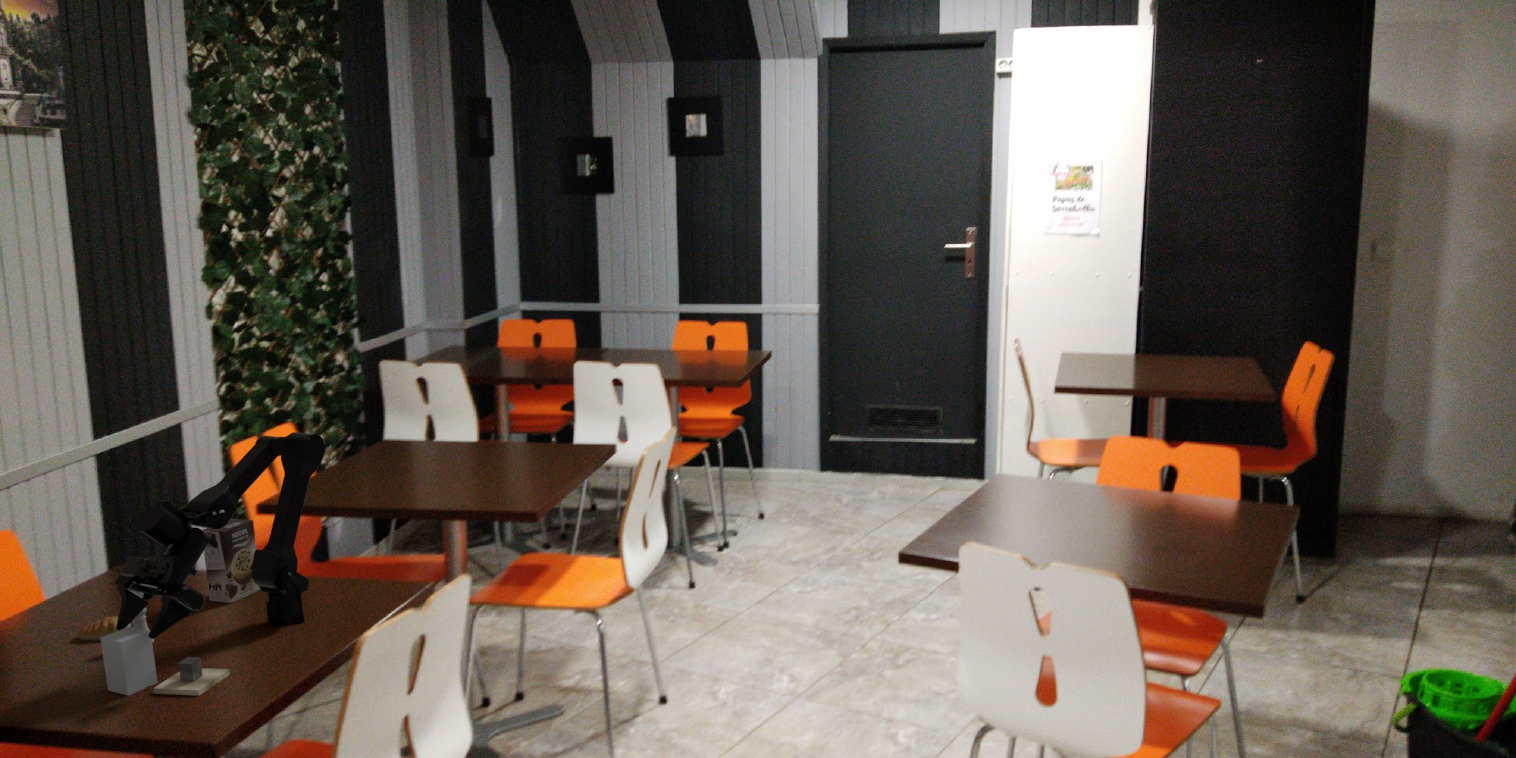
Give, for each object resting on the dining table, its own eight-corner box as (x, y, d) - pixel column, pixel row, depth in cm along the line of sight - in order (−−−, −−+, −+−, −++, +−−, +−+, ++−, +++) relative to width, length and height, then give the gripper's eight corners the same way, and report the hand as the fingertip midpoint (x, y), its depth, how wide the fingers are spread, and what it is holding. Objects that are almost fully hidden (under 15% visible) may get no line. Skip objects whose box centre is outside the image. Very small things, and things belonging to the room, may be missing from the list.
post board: (186, 672, 225) (182, 649, 225) (229, 674, 224) (226, 651, 223) (154, 693, 217) (150, 669, 216) (199, 695, 215) (196, 671, 214)
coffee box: (232, 603, 261) (223, 531, 258) (208, 601, 263) (199, 529, 261) (262, 589, 270) (254, 519, 267) (239, 587, 272) (231, 517, 269)
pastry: (75, 646, 241) (73, 627, 241) (81, 634, 248) (79, 616, 247) (128, 638, 245) (125, 619, 244) (132, 626, 251) (130, 609, 250)
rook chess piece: (144, 649, 238) (139, 610, 236) (124, 648, 238) (119, 609, 237) (159, 640, 242) (154, 602, 240) (140, 639, 243) (134, 601, 241)
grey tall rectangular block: (137, 677, 224) (130, 626, 222) (157, 682, 221) (150, 630, 219) (107, 690, 219) (100, 637, 217) (128, 695, 216) (120, 642, 214)
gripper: (117, 531, 226) (68, 607, 218) (183, 542, 217) (134, 622, 209) (160, 559, 234) (114, 633, 226) (225, 571, 225) (179, 649, 218)
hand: (134, 634), depth 220 cm, fingers open, 9 cm apart
